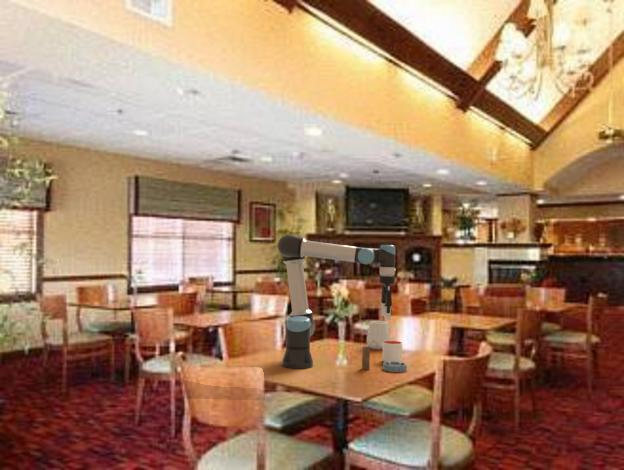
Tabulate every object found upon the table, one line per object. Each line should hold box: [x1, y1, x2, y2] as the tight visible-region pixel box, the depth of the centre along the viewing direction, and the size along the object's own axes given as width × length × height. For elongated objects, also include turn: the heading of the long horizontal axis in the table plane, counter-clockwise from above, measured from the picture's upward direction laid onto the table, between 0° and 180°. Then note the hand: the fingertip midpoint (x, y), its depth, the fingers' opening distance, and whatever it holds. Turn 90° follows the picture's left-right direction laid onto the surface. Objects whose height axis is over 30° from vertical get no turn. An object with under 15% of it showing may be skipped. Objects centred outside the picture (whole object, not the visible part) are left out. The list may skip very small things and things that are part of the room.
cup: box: [381, 340, 403, 363], centre depth 301 cm, size 10×10×10 cm
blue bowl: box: [382, 361, 408, 373], centre depth 282 cm, size 11×11×4 cm
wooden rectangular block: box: [361, 345, 371, 371], centre depth 282 cm, size 3×2×11 cm
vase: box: [366, 320, 392, 350], centre depth 342 cm, size 14×14×15 cm
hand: (385, 318), depth 294 cm, fingers open, 13 cm apart
